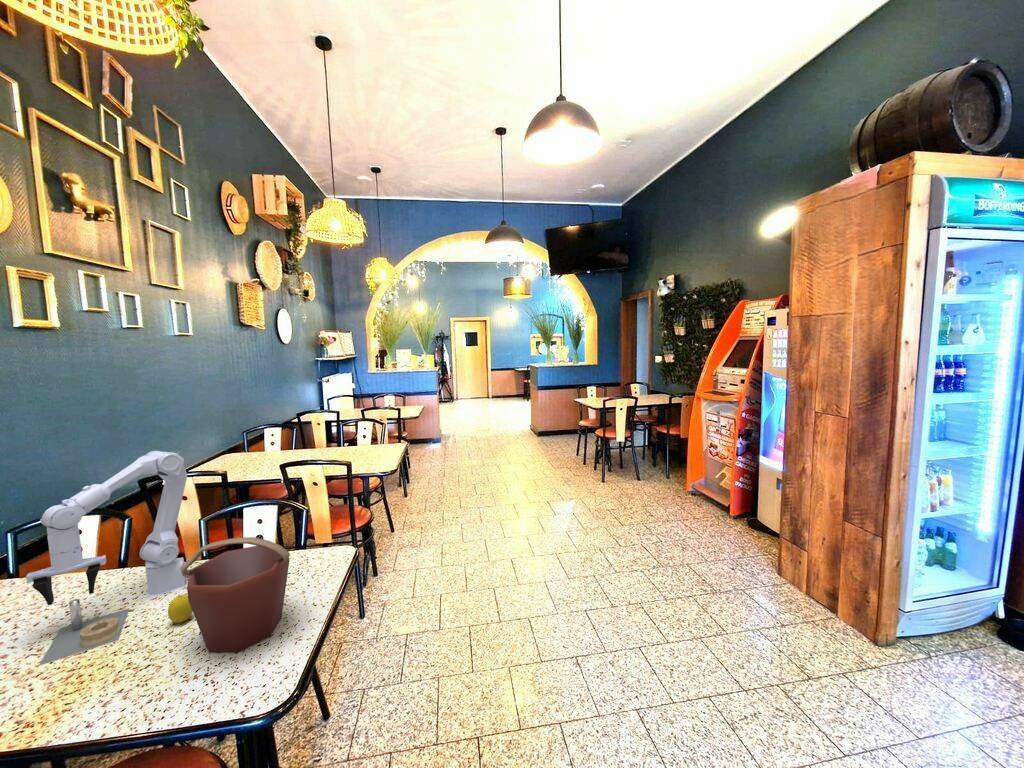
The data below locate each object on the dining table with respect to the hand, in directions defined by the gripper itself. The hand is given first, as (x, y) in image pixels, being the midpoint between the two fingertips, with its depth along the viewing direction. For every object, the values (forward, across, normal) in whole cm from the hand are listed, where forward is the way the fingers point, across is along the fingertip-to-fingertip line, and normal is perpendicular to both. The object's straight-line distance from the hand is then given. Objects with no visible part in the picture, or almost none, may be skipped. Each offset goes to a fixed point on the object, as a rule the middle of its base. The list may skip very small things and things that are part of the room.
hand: (71, 597), depth 111 cm
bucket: (+10, -37, +31) cm, 49 cm away
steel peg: (+9, 0, +1) cm, 9 cm away
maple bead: (+9, -6, +10) cm, 14 cm away
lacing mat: (+9, -3, +6) cm, 11 cm away
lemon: (+10, -23, +15) cm, 29 cm away
